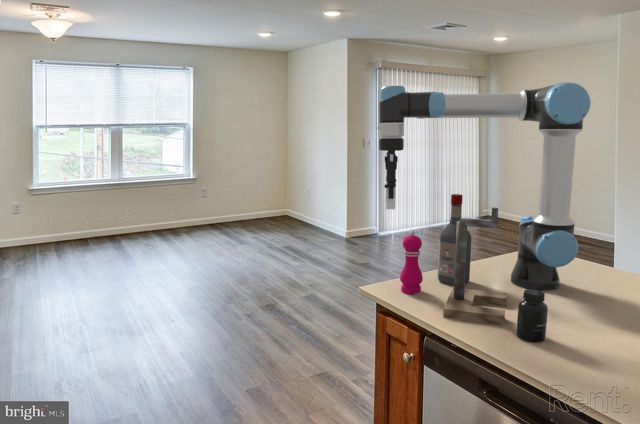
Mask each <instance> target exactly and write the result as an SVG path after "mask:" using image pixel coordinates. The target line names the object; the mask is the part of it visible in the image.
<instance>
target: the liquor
mask: <svg viewBox="0 0 640 424" xmlns="http://www.w3.org/2000/svg"><path fill="white" fill-rule="evenodd" d="M462 204H463V194H459V193H453V194H451V195H450V205H451V207H450V219H449V223H448V224H447V225H446V226H445V227H444V228H443V229H442V230H441V231H440V232H439V234H438V255H437V256H438V257H437V258H438V259H437V261H438V262H437V279H438V281H439V282H440V283H441V284H445V285H448V286H449V285H450V286H453V287H454V277H455V254H456V230H457V221H460V219H461V218H462V206H463V205H462ZM471 252H472V235H471V232H470V231H469V230H468V229H467V248H466V270H465V285H466V284H468V283H469V282H470V277H471V276H470V275H471V274H470V273H471V256H472V255H471Z"/></svg>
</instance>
